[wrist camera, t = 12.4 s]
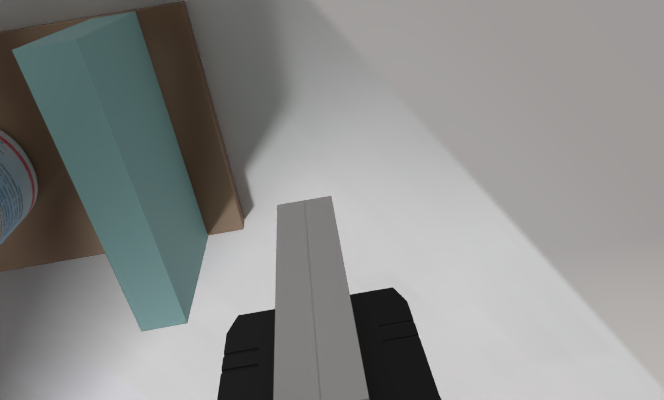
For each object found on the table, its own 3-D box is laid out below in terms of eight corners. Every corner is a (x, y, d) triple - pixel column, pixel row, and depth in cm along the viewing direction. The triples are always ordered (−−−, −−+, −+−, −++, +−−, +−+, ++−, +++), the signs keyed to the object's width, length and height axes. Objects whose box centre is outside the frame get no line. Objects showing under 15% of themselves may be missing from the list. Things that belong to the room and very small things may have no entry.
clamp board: (-64, 273, 27) (-181, 387, 20) (-207, 66, 22) (-440, 125, 15) (244, 220, 28) (232, 313, 21) (184, 1, 22) (139, 28, 15)
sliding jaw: (172, 242, 27) (141, 331, 21) (90, 18, 21) (11, 49, 15) (208, 236, 27) (187, 323, 21) (135, 11, 21) (75, 39, 15)
